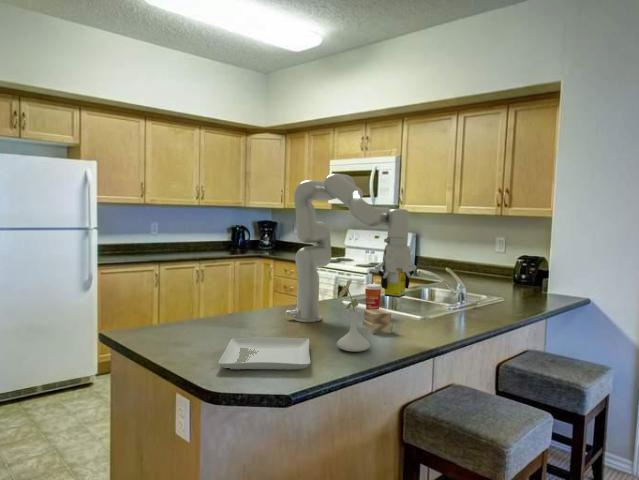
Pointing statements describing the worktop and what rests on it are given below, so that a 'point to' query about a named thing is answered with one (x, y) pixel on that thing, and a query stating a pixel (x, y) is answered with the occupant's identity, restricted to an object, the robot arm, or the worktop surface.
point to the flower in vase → (352, 328)
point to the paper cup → (373, 296)
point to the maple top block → (377, 316)
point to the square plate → (268, 353)
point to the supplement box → (396, 284)
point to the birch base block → (377, 327)
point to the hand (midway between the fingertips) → (394, 287)
